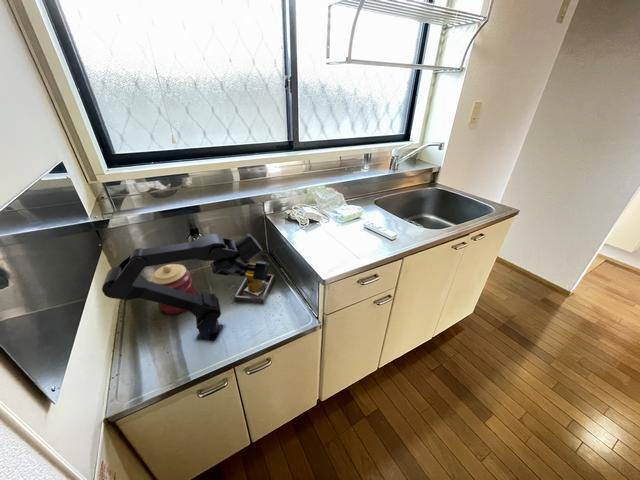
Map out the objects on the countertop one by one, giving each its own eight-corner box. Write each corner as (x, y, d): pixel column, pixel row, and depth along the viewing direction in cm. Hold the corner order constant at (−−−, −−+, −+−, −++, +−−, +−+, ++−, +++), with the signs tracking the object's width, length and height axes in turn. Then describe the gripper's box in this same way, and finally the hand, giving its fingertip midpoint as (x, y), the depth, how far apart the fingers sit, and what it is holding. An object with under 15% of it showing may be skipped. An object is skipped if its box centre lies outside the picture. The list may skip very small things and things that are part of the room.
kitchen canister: (201, 304, 100) (190, 267, 91) (165, 320, 93) (149, 282, 84) (191, 286, 109) (180, 251, 100) (156, 300, 102) (141, 263, 93)
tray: (263, 303, 101) (262, 299, 100) (235, 300, 102) (234, 296, 101) (274, 278, 114) (274, 274, 113) (249, 276, 116) (248, 272, 114)
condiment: (243, 290, 107) (239, 267, 101) (256, 278, 114) (253, 256, 108) (257, 296, 105) (254, 272, 99) (270, 283, 111) (267, 261, 105)
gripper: (266, 243, 83) (277, 255, 98) (211, 236, 85) (230, 249, 100) (258, 277, 80) (271, 284, 95) (202, 269, 82) (223, 277, 97)
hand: (248, 272), depth 97 cm, fingers open, 9 cm apart
